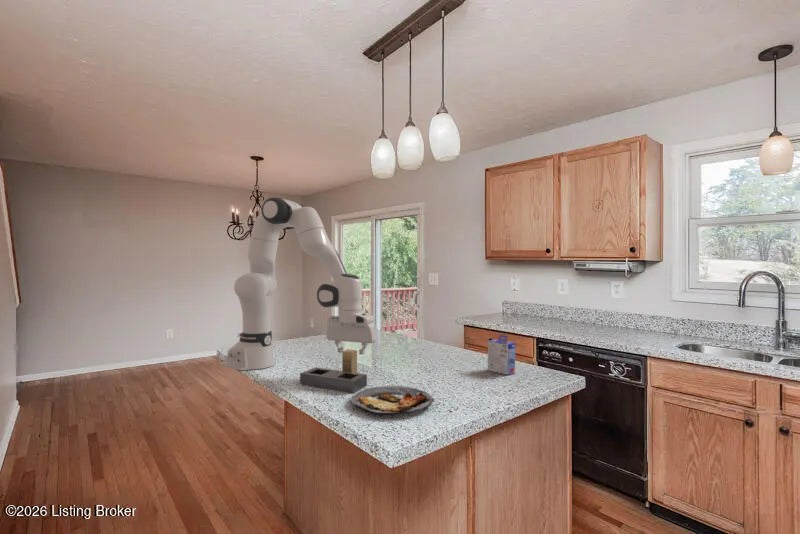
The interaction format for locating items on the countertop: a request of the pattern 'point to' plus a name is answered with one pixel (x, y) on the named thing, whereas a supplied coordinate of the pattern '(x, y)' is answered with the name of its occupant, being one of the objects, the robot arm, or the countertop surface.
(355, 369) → the square peg
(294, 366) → the countertop surface
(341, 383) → the grey peg hole block
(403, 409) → the food plate
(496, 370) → the ink cartridge box
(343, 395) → the countertop surface
